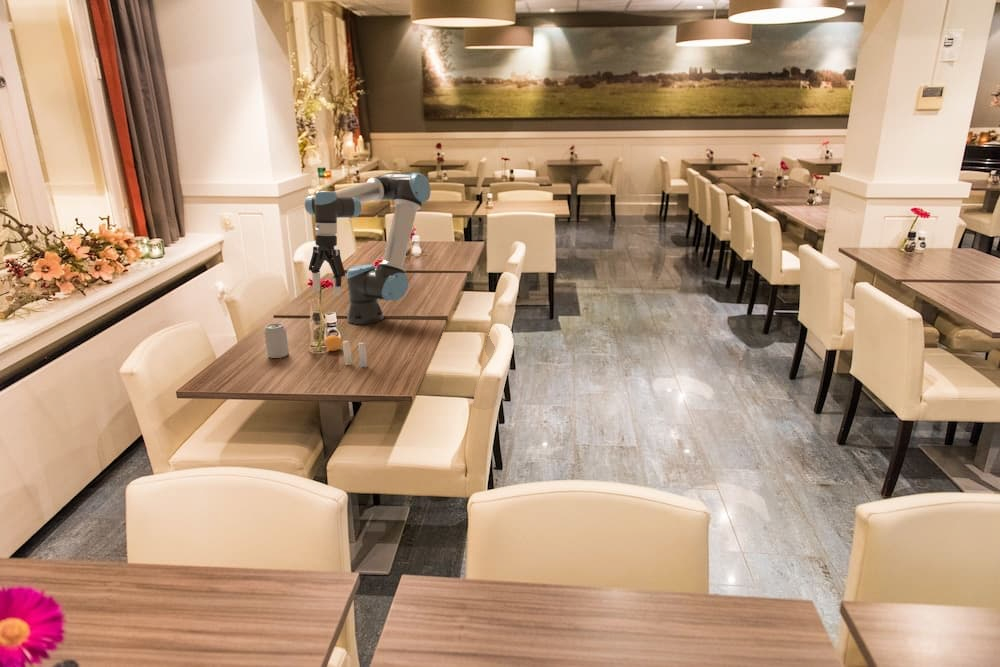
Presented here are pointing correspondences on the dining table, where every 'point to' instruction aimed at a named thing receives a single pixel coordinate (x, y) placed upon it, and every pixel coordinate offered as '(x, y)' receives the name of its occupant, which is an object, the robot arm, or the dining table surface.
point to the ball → (333, 342)
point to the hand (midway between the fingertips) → (326, 292)
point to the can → (276, 340)
